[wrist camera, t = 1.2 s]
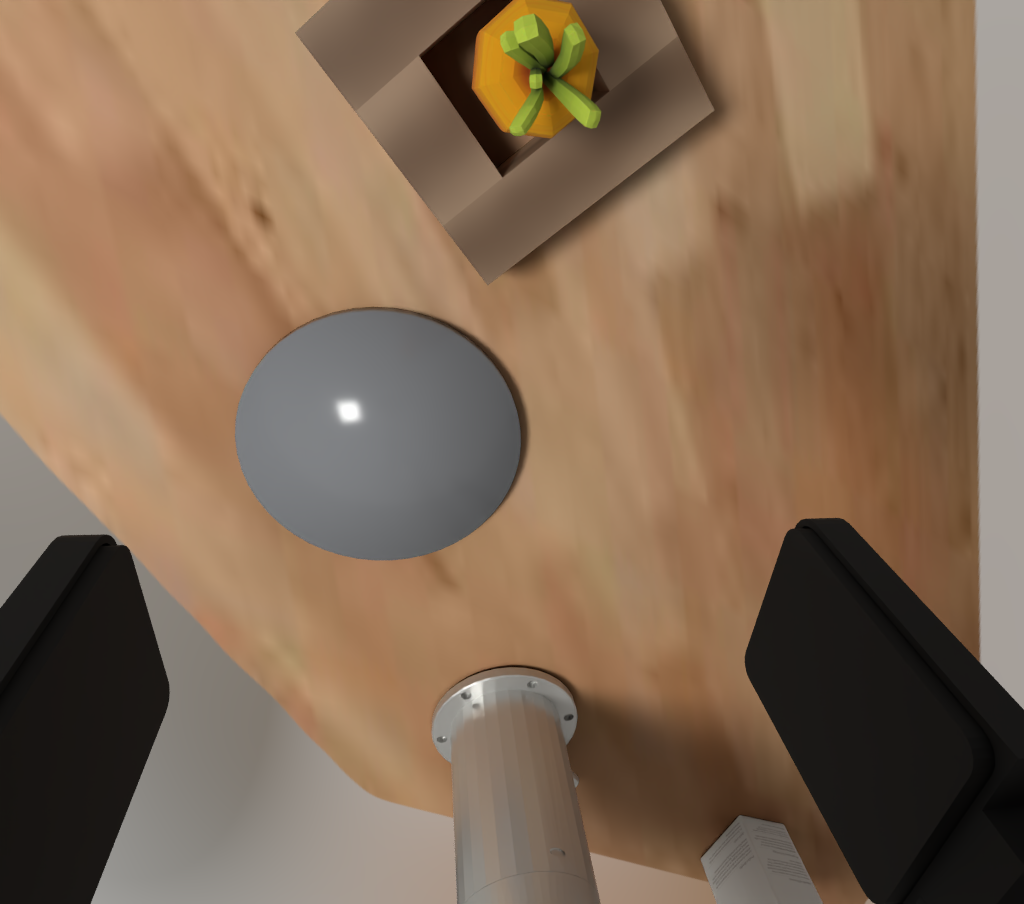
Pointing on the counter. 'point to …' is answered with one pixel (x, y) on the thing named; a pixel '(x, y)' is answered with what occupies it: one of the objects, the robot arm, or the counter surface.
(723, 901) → the skincare box
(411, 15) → the pocket block
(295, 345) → the plate
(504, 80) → the carrot
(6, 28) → the counter surface
